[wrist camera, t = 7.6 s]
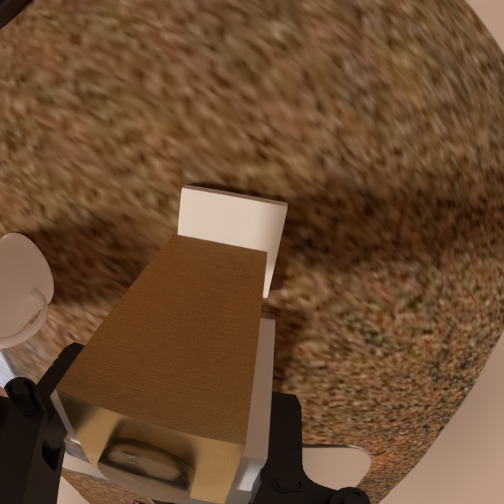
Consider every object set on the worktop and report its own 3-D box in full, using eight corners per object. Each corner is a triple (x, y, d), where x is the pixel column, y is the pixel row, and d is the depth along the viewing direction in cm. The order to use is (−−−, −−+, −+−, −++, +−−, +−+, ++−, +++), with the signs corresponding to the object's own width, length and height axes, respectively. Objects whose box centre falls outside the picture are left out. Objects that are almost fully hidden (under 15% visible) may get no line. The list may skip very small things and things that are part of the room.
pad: (186, 184, 21) (181, 188, 20) (287, 202, 21) (287, 206, 20) (178, 273, 24) (174, 279, 23) (267, 290, 24) (267, 297, 23)
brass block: (173, 233, 16) (41, 409, 6) (267, 251, 16) (241, 473, 6) (169, 310, 18) (86, 482, 8) (251, 327, 18) (220, 522, 8)
